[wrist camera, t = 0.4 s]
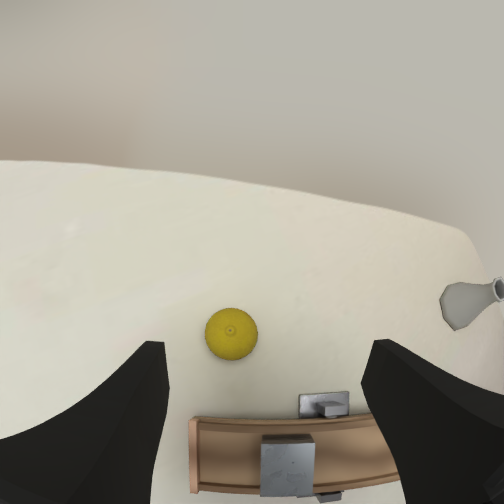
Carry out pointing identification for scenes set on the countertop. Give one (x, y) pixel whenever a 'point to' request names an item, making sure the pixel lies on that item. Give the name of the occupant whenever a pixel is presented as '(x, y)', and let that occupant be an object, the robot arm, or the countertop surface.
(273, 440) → the steel block
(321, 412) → the pivot stand
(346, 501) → the countertop surface
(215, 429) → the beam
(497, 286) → the flask
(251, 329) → the lemon
